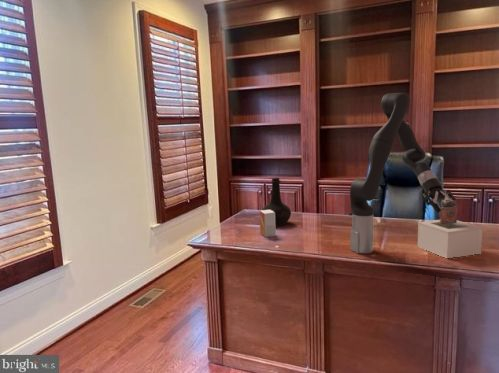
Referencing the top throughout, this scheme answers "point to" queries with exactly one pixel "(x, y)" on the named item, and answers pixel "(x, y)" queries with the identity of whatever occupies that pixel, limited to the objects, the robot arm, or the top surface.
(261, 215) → the small box
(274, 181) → the glass bottle
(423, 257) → the top surface
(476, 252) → the slot box
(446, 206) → the lighter
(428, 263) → the top surface
